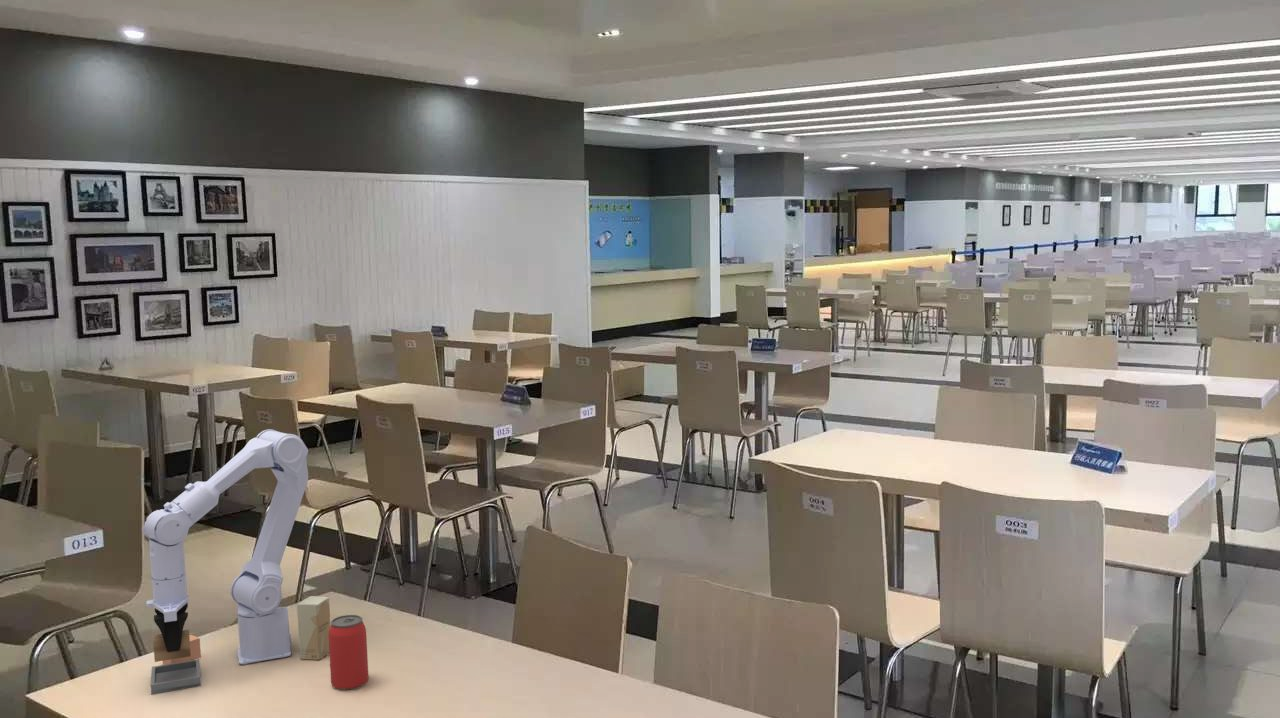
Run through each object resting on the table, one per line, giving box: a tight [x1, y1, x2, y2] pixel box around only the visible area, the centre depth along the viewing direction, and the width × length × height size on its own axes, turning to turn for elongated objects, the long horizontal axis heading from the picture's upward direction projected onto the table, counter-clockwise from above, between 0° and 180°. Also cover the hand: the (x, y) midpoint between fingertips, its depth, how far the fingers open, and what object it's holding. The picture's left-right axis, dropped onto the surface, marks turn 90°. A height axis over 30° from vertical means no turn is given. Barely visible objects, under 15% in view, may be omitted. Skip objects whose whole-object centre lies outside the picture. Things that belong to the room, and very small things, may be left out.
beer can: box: [328, 614, 370, 691], centre depth 188 cm, size 7×7×12 cm
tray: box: [150, 658, 201, 695], centre depth 191 cm, size 8×9×2 cm
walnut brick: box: [152, 629, 191, 663], centre depth 190 cm, size 6×3×4 cm, turn 114°
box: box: [296, 595, 331, 661], centre depth 202 cm, size 5×4×11 cm
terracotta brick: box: [162, 634, 202, 665], centre depth 201 cm, size 6×3×4 cm, turn 144°
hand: (173, 647), depth 191 cm, fingers closed on walnut brick, 3 cm apart
